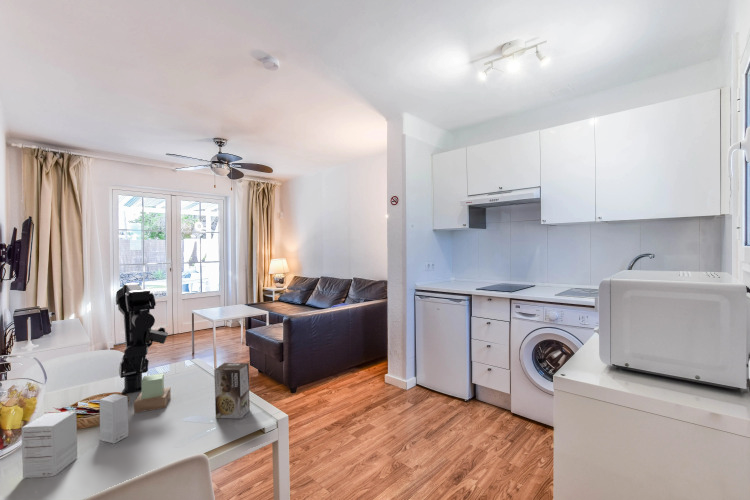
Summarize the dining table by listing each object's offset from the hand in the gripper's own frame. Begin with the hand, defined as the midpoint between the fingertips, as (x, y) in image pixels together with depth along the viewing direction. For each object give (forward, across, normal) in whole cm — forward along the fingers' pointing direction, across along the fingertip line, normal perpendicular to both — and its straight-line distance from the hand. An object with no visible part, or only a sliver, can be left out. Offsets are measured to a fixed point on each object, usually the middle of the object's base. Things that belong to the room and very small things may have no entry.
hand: (140, 368), depth 119 cm
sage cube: (+9, -3, -4) cm, 10 cm away
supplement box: (+12, -32, +14) cm, 37 cm away
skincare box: (+13, -23, +3) cm, 27 cm away
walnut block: (+13, -3, -4) cm, 14 cm away
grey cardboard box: (+12, -25, -29) cm, 40 cm away
